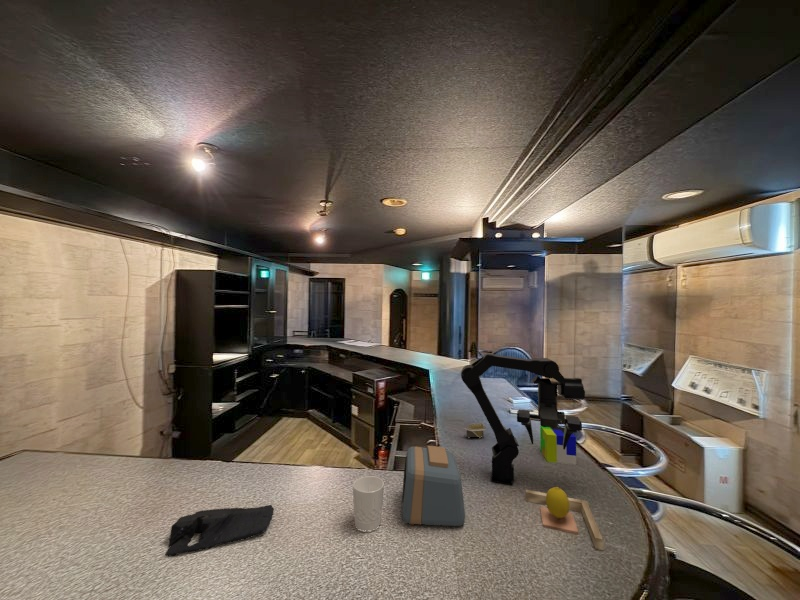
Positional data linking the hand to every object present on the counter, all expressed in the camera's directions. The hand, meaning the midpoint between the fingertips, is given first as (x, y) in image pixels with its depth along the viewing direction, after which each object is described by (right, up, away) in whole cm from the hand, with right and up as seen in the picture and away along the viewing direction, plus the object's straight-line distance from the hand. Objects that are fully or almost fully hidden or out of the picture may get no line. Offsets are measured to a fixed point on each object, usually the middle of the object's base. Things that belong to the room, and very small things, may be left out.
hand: (548, 446), depth 100 cm
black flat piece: (-92, -10, -24) cm, 95 cm away
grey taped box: (-39, -11, -14) cm, 43 cm away
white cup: (-56, -10, -21) cm, 61 cm away
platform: (-15, -14, +36) cm, 42 cm away
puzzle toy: (+13, -14, +19) cm, 27 cm away
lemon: (-6, -11, -18) cm, 22 cm away
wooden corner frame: (-6, -11, -19) cm, 22 cm away
